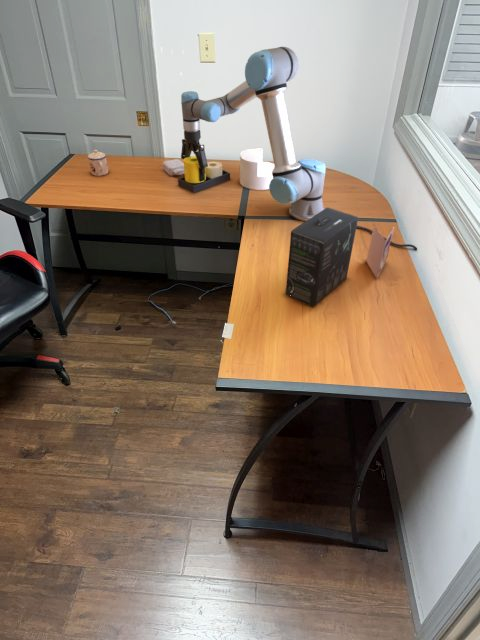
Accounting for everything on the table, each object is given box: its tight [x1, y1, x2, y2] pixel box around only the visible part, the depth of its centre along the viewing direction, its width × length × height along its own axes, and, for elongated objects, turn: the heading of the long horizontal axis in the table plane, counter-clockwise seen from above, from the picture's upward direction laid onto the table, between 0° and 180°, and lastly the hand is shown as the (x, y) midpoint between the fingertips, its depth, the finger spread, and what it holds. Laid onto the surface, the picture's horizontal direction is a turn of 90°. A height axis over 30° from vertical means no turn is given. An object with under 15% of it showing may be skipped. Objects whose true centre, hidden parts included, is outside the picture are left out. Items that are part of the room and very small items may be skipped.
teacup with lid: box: [87, 149, 109, 177], centre depth 223 cm, size 12×9×12 cm
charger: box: [162, 158, 185, 177], centre depth 225 cm, size 5×9×15 cm
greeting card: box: [365, 224, 395, 279], centre depth 154 cm, size 11×7×15 cm, turn 151°
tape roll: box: [183, 155, 206, 183], centre depth 209 cm, size 10×10×9 cm
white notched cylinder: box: [239, 147, 275, 191], centre depth 215 cm, size 20×20×13 cm
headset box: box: [285, 207, 359, 308], centre depth 142 cm, size 22×12×26 cm, turn 141°
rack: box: [177, 169, 231, 194], centre depth 217 cm, size 12×24×4 cm, turn 133°
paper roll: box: [205, 161, 223, 179], centre depth 218 cm, size 9×9×7 cm
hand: (195, 177), depth 212 cm, fingers closed on tape roll, 10 cm apart
